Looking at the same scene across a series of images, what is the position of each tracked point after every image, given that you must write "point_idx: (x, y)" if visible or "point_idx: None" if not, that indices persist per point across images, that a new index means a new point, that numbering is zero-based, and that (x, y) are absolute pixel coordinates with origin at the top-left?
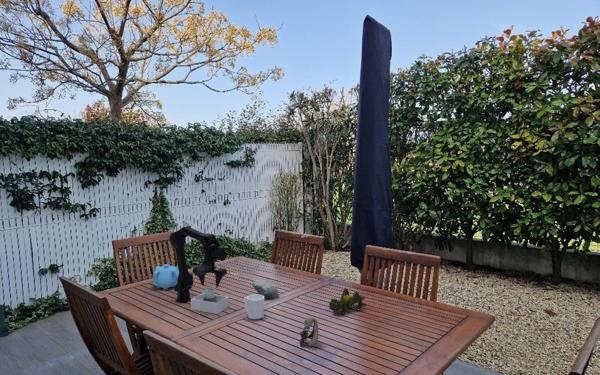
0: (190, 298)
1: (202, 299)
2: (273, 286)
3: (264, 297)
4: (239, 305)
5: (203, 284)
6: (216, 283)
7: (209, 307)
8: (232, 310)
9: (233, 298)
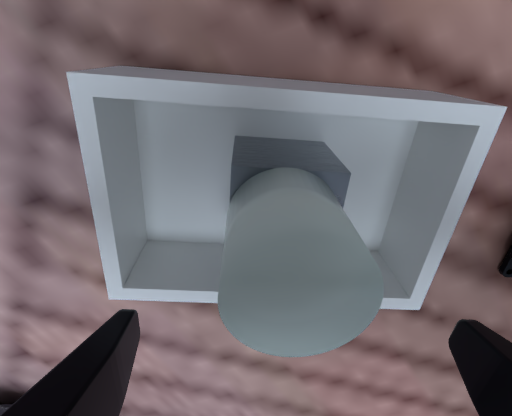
0: (510, 273)
1: (392, 248)
2: None
3: (4, 405)
4: (86, 281)
5: (460, 351)
6: (53, 392)
7: (209, 77)
8: (58, 185)
9: (210, 357)
